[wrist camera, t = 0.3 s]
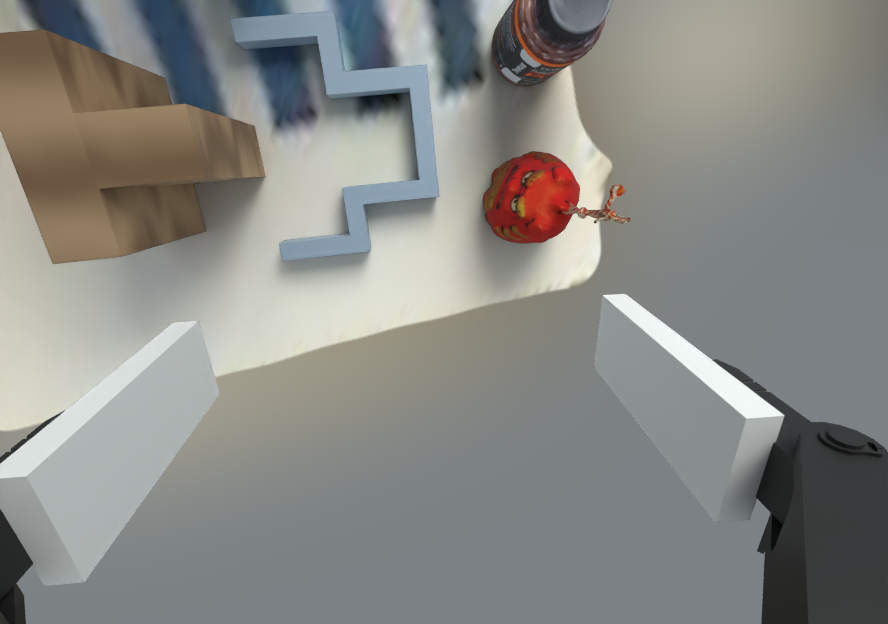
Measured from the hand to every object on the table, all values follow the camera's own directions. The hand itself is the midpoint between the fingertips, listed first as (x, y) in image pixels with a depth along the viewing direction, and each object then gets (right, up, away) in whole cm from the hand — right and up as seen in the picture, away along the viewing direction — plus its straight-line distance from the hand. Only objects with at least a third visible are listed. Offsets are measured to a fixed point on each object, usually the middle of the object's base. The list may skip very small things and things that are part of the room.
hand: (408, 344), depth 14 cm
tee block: (-19, +14, +21) cm, 32 cm away
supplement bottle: (+8, +23, +21) cm, 33 cm away
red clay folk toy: (+8, +12, +25) cm, 29 cm away
